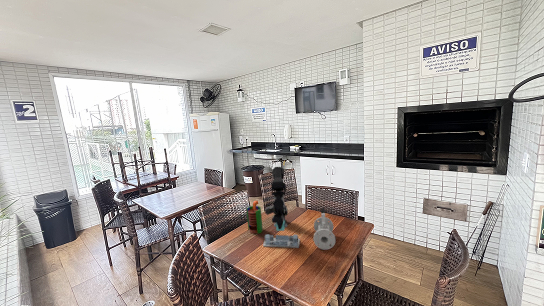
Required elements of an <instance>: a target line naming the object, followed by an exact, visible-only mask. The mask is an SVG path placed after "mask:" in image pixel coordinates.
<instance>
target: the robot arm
mask: <svg viewBox="0 0 544 306" xmlns="http://www.w3.org/2000/svg"><path fill="white" fill-rule="evenodd" d="M271 175H272V177H273V179H272V182H271V184H270V185H271V196H273V203H272V205H269V206H267V207H265V209H264V214H265V215H267V216H269V215H271V214H273V216H272V218H271V223H273V224H274V223H277V225H278V227H279V229H281V228H282V225H283V222H284V220H285V224H287V220H286V216H288V215H289V214H288V213H289V212H288V207H287V205H286V203H285V197H284V195H286V193H287V185H286V183H285V182H284V178H285V177H284V176H285V175H286V174H285V169H284V168H283V167H282V166H275V167H273V168H272V169H271Z"/></svg>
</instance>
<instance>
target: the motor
mask: <svg viewBox="0 0 544 306" xmlns="http://www.w3.org/2000/svg"><path fill="white" fill-rule="evenodd" d="M246 217H247V228H248V231H249V233H250V234H258V235H259V234H261V233H262V232H263V218H262V208H261V206H259V201H258V200H254V201H253V203H252V205H251V206H248V207H246Z"/></svg>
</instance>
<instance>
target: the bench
mask: <svg viewBox="0 0 544 306" xmlns="http://www.w3.org/2000/svg"><path fill="white" fill-rule="evenodd" d="M300 241H301V239H300V238H299V235H298V234H293V235H285V234H284V235H283V234H280V235H279V234H276V235H275V237H274V234H265V235H264V241H263V244H262V246H263V247H272V248H289V249H290V248H291V249H292V248H293V249H299V248H300Z"/></svg>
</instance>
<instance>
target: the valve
mask: <svg viewBox="0 0 544 306" xmlns="http://www.w3.org/2000/svg"><path fill="white" fill-rule="evenodd" d="M320 212H321V213H320V214H321V216H320V217H317V218H316V219H315V220H314V223H313V229H314V231H315V232H314V234H313V243H314V245H315V246H316V247H317V248H319V249H320V250H325V251H326V250H330V249H332V248H333V247H334V246H335V244H336V235H335V234H334V233H333V231H334V223H333V221H332V220H331V218H329V217H326V210H325V208H320Z"/></svg>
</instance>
